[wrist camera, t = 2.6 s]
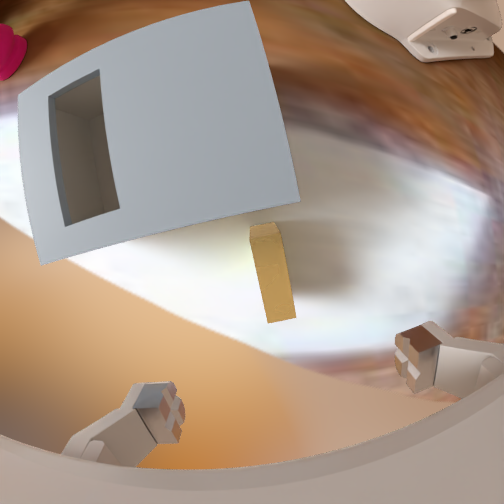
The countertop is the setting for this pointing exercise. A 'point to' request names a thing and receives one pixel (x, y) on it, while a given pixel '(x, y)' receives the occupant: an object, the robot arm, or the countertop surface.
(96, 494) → the robot arm
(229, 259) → the countertop surface
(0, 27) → the pepper mill
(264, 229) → the block
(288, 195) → the coin box
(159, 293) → the countertop surface
